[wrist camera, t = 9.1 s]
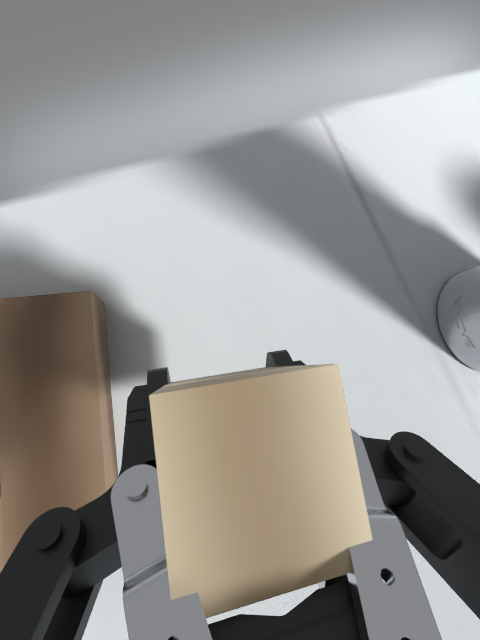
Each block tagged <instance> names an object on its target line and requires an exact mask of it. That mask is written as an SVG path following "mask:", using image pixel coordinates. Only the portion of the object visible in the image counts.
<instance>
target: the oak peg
mask: <svg viewBox="0 0 480 640" xmlns="http://www.w3.org/2000/svg"><path fill="white" fill-rule="evenodd" d="M149 400H150V409H151V419H152V428H153V438H154V447H155V456H156V466H157V475H158V485H159V494H160V504H161V513H162V522H163V532H164V541H165V551H166V560H167V569H168V579H169V588H170V598H171V600H173V599H177V598H180V597H183V596H187V595H190V594H193V593H197V592H198V595H199V598H200V601H201V605H202V608H203V611H204V614H205V617H206V618H209V617H212V616H215V615H218V614H221V613H224V612H228V611H231V610H234V609H237V608H240V607H243V606H247V605H250V604H253V603H256V602H259V601H262V600H266V599H269V598H272V597H275V596H278V595H281V594H285V593H288V592H291V591H294V590H297V589H300V588H304V587H307V586H310V585H313V584H316V583H319V582H323V581H326V580H329V579H332V578H335V577H338V576H342V575H345V574H348V573H350V567H349V547H351V546H355V545H358V544H361V543H365V542H368V541H371V540H373V539H372V534H371V529H370V524H369V519H368V514H367V509H366V504H365V499H364V493H363V488H362V483H361V478H360V473H359V468H358V463H357V458H356V453H355V448H354V443H353V438H352V433H351V428H350V423H349V417H348V412H347V407H346V402H345V397H344V392H343V387H342V382H341V377H340V372H339V367H338V364H326V365H303V366H280V367H265V368H258V369H252V370H246V371H240V372H233V373H227V374H221V375H215V376H208V377H202V378H196V379H189V380H183V381H177V382H171V383H169V384H167V385H165V386H163V387H161V388H160V389H158V390H157V391H155V392H153V393H152V394H150V395H149Z"/></svg>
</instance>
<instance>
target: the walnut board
mask: <svg viewBox="0 0 480 640" xmlns="http://www.w3.org/2000/svg"><path fill="white" fill-rule="evenodd" d="M117 478H118V470H117V458H116V446H115V434H114V422H113V410H112V398H111V386H110V374H109V362H108V350H107V338H106V326H105V314H104V302H103V301H101V300H100V299H99V298H98V297H97V296H96V295H95V294H93V293H92V292H91V291H83V292H72V293H61V294H50V295H39V296H28V297H17V298H5V299H0V481H1V483H0V573H1V571H2V569H3V568H4V566H5V564H6V563H7V561H8V559H9V557H10V556H11V554H12V552H13V551H14V549H15V547H16V546H17V544H18V542H19V541H20V539H21V537H22V535H23V534H24V532H25V531H26V529H27V528H28V527H29V526H30V524H31V523H32V522H33V521H34V520H35V519H36V518H38V517H39V516H40V515H42V514H43V513H45V512H46V511H48V510H51V509H53V508H57V507H68V508H71V509H73V510H74V511H75V510H77V509H78V508H80V507H82V506H84V505H86V504H87V503H89V502H91V501H93V500H95V499H96V498H98V497H100V496H101V495H103V494H104V493H105V492H107V491H108V490H109V489H110V488H111V486H112V485H113V484H114V483H115V481H116V480H117Z"/></svg>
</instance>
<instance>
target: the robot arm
mask: <svg viewBox="0 0 480 640" xmlns="http://www.w3.org/2000/svg"><path fill="white" fill-rule="evenodd" d="M438 321H439V327H440V330H441V332H442V335H443V338H444V340H445V342H446V343H447V345H448V347H449V349H450V350H451V351H452V352H453V353H454V355H455V356H456V357H457V358H458V359H459V360H460V361H462V362H463V363H464V364H465V365H467V366H469V367H470V368H472V369H474V370H477V371H480V266H477V267H475V268H472V269H469V270H466V271H464V272H461V273H458V274H456V275H455V276H454V277H452V278H451V279H450V280H449V281H448V282H447V283H446V285H445V286H444V288H443V290H442V292H441V294H440V298H439V302H438ZM303 365H305V364H304V363H303V362H302V361H294V362H293V361H292V359H291V357H290V355H289V353H288V352H287V350H281V351H274V352H268V353H267V359H266V367H280V366H303ZM169 383H171V382H170V377H169V371H168V367H166V368H160V369H153V370H148V372H147V385H142V386H136V387H134V389H133V390H132V392H131V394H130V396H129V397H128V400H127V411H126V412H127V414H126V422H125V423H126V425H125V433H124V445H123V456H122V466H121V471H120V474H119V476H118V478H117V480H116V481H115V483H114V484H113V485H112V486H111V488H110V489H109V490H108V491H107V492H105V493H104V494H103V495H101V496H100V497H98V498H96V499H95V500H93V501H91V502H89V503H87V504H86V505H84V506H82V507H80V508H78V509H77V510H75V511H74V510H73V509H71V508H68V507H57V508H53V509H51V510H48V511H46V512H45V513H43V514H42V515H40V516H39V517H38V518H36V519H35V520H34V521H33V522H32V523H31V524H30V526H29V527H28V528H27V529H26V531H25V532H24V534H23V535H22V537H21V539H20V541H19V542H18V544H17V546H16V547H15V549H14V551H13V552H12V554H11V556H10V557H9V559H8V561H7V563H6V564H5V566H4V568H3V569H2V571H1V573H0V640H81V639H82V636H83V634H84V631H85V628H86V626H87V623H88V620H89V617H90V615H91V612H92V609H93V606H94V604H95V601H96V598H97V595H98V593H99V590H100V587H101V585H102V582H103V579H104V578H106V577H107V576H109V575H110V574H112V573H113V572H115V571H116V570H118V569H119V568H121V567H122V570H123V576H124V587H123V603H124V611H125V617H126V623H127V630H128V636H129V640H442V638H441V635H440V633H439V630H438V627H437V624H436V621H435V619H434V616H433V613H432V610H431V607H430V605H429V602H428V599H427V596H426V593H425V590H424V588H423V585H422V582H421V579H420V576H419V574H418V571H417V568H416V565H415V562H414V560H413V557H412V554H411V551H410V548H409V545H408V543H407V540H406V538H407V539H408V541H409V542H410V543H411V544H412V545H413V546H414V547H415V548H416V549H417V551H418V552H419V553H420V554H421V555H422V556H423V557H424V558H425V559H426V560H427V562H428V563H429V564H430V565H431V566H432V567H433V568H434V569H435V570H436V571H437V573H438V574H439V575H440V576H441V577H442V578H443V579H444V580H445V581H446V583H447V584H448V585H449V586H450V587H451V588H452V589H453V590H454V591H455V592H456V594H457V595H458V596H459V597H460V598H461V599H462V600H463V601H464V602H465V603H466V605H467V606H468V607H469V608H470V609H471V610H472V611H473V612H474V613H475V615H476V616H477V617H478V618H479V619H480V484H479V483H477V482H476V481H475V480H474V479H473V478H471V477H470V476H469V475H468V474H466V473H465V472H464V471H463V470H462V469H460V468H459V467H458V466H457V465H455V464H454V463H453V462H452V461H451V460H449V459H448V458H447V457H446V456H444V455H443V454H442V453H441V452H439V451H438V450H437V449H436V448H435V447H433V446H432V445H431V444H430V443H428V442H427V441H426V440H425V439H423V438H422V437H420V436H418V435H416V434H414V433H410V432H398V433H396V434H394V435H393V436H392V437H391V439H390V440H382V439H373V438H366V437H362V436H359V435H358V434H357V433H356V432H355V431H354V430H352V429H351V433H352V438H353V443H354V448H355V453H356V458H357V463H358V468H359V473H360V478H361V483H362V488H363V493H364V499H365V504H366V509H367V514H368V519H369V524H370V529H371V534H372V539H373V540H371V541H368V542H365V543H361V544H358V545H355V546H351V547H349V567H350V573H348V574H345V575H342V576H338V577H335V578H332V579H329V580H326V581H323V582H319V583H318V585H319V589H317V590H316V591H315V592H314V593H312V594H311V595H310V596H309V597H307V598H306V599H305V600H304V601H302V602H301V603H300V604H299V605H297V606H296V607H295V608H293V609H292V610H291V611H290V612H288V613H287V614H286V615H283V616H264V615H243V614H240V615H236V616H233V617H230V618H227V619H224V620H221V621H218V622H215V623H211V624H207V621H206V617H205V614H204V611H203V608H202V605H201V601H200V598H199V595H198V592H197V593H193V594H190V595H187V596H183V597H180V598H177V599H173V600H171V598H170V588H169V579H168V569H167V560H166V551H165V541H164V532H163V522H162V513H161V504H160V494H159V485H158V475H157V466H156V456H155V447H154V438H153V428H152V419H151V409H150V400H149V395H150V394H152V393H153V392H155V391H157V390H158V389H160V388H161V387H163V386H165V385H167V384H169ZM382 579H383V580H384V581H385V583H386V584H385V583H384V582H383V580H382Z"/></svg>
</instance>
